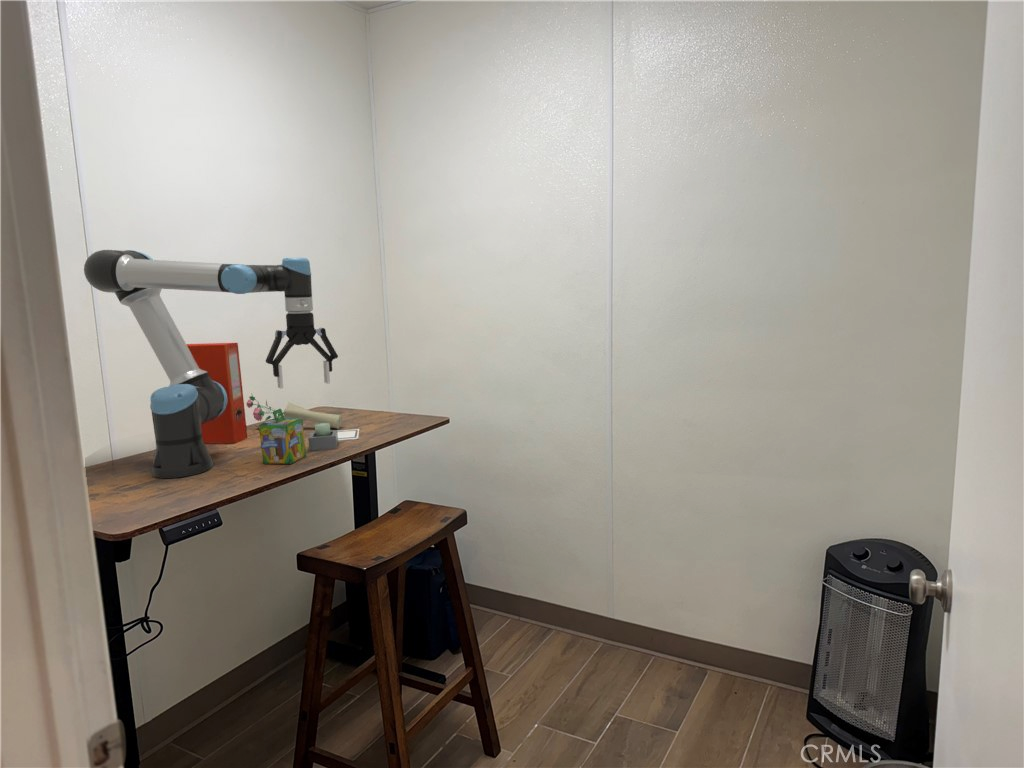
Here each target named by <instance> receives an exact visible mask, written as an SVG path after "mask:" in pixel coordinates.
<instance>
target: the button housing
mask: <svg viewBox="0 0 1024 768" xmlns="http://www.w3.org/2000/svg"><path fill="white" fill-rule="evenodd" d="M337 431H338V429H336V430H330V434H331V436H319V437H316V433H315V431H311V432H310V434H309V436H308V439H307V440H308V448H309V449H308V450H309V452H314V451H316V452H318V451H326V450H327V451H328V450H337V448H338V445H339V441H338V432H337Z"/></svg>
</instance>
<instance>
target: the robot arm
mask: <svg viewBox="0 0 1024 768" xmlns="http://www.w3.org/2000/svg"><path fill="white" fill-rule="evenodd" d="M281 261H282V262H281V264H274V265H273V264H271V265H270V264H239V263H238V264H237V263H235V264H234V263H220V262H219V263H217V262H202V261H201V262H200V261H199V262H198V261H182V260H179V261H177V260H166V259H165V260H164V259H163V260H161V259H153V258H152V257H151V256H149V255H148V254H146V253H144V252H140V251H137V250H132V249H131V250H130V249H128V250H119V249H118V250H116V249H114V250H113V249H101V250H98V251H95V252H92V253H91V254H90V255H89V256H88V257H87V259H86V260H85V262H84V264H83V266H84V267H83V273H84V276H85V278H86V280H87V282H88V283H89V284H90V285H91V286H92V287H93V288H94V289H96V290H98V291H100V292H104V293H112V294H115V296H116V298H117V299H118V301H119V302H120V303H119V304H120V305H123V306H125V307H128V308H129V310H130V311H131V312H132V313H131V314H133V316H134V318H135V319H136V322H137V324H138V325H139V327H140V329H141V330H142V332H143V334H144V336H145V338H146V339H147V342H148V343H149V345H150V347H151V349H152V350H153V352H154V354H155V356H156V358H157V360H158V361H159V364H160V365H161V367H162V368H163V371H164V372H165V374H166V376H167V378H168V380H169V381H170V383H169V385H168V386H163V387H160V388H158V389H156V390H154V391H153V392H152V393H151V395H150V404H149V405H150V410H151V417H152V423H153V431H154V438H155V440H154V441H155V451H154V457H153V460H152V465H151V472H152V476H153V477H155V478H158V479H175V478H177V479H178V478H183V477H189V476H194V475H197V474H201V473H204V472H207V471H209V470H210V469H213V464H214V463H213V460H212V459H213V458H212V456H211V454H210V453H209V450H208V448H207V446H206V443H204V442H203V438H202V430H201V425H202V424H204V423H207V422H210V421H212V420H214V419H216V418H217V417H218V416H220V415H221V414H222V413H223V412H224V410H225V408H226V406H227V394H226V391H225V389H224V388H223V387H222V385H220V384H219V383H217V382H215V381H212V379H211V377H210V375H209V374H208V372H207V371H204V370H201V369H200V368H199V367H198V365H197V363H196V361H195V359H194V358H193V356H192V354H191V352H190V350H189V348H188V347H187V345H186V344H187V342H186V341H185V340H184V338H183V335H182V334H181V332H180V331H179V328H178V327H177V325H176V323H175V321H174V319H173V317H172V316H171V314H170V312H169V310H168V308H167V307H166V305H165V303H164V301H163V299H162V297H161V292H162V290H179V291H180V290H181V291H199V292H200V291H201V292H219V293H232V294H235V295H245V294H250V293H251V294H252V293H267V292H268V293H271V292H272V293H273V292H275V293H276V292H279V293H280V292H284V303H285V304H284V305H285V306H284V307H285V308H284V309H285V311H286V312H287V313H286V314H285V321H286V330H279V329H276V330H275V334H274V336H275V337H274V340H273V343H272V344H271V346H270V349H269V352H268V354H267V356H266V359H265V363H266V364H268V365H271V366H272V371H273V372H272V373H273V376H274V377H275V378H276V379H277V380H276V381H277V388H278V389H284V382H283V381H284V380H283V368H282V367H283V366H282V365H280V364H281V362H282V360H283V359H284V358H285V357H286V356H287V354H288V352H289V351H291V348H293V346H301V345H306V346H307V345H311V346H312V347H313V348H314V349H315V350H316V351H317V352H318V353H319V354H320V355H321V356H322V358H323V359H324V360H323V361H322V365H323V366H322V367H323V377H324V378H323V380H324V383H325V384H331V379H330V373H331V372H332V371H333V360H335V359H338V357H339V355H338V354H337V351H336V349H335V348H334V346H333V345H332V343H331V341H330V339H329V337H328V336H327V332H326V328H324V327H319V328H317V329H316V328H315V320H314V318H315V317H314V313H313V310H314V306H313V305H314V304H313V289H312V288H313V287H312V286H313V285H312V271H311V263H310V260H309V259H308V258H307V257H283V258H282V259H281ZM316 334H317V335H318V336H319V337H320V339H321V341H322V342H323V345H324V346H325V348H326V349H327V351H328V352H327V351H326V350H325V349H324V348H323V347H322V346H321V344H319V343H318V341H317V340H316V339H315V338H314V337H315V336H316ZM285 336H286V337H287V338H288V339H287V341H286V342H285V344H284V346H283V347H282V348H281V350H280V351H279V353H278V354H277V352H278V350H279V348H280V347H279V346H280V345H281V342H282V339H284V338H285Z"/></svg>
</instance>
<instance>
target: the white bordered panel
mask: <svg viewBox="0 0 1024 768" xmlns="http://www.w3.org/2000/svg"><path fill="white" fill-rule="evenodd" d="M337 432H338V442H341V441H343V442H345V441H355V440H359V437H360V436H359V435H360V428H355V429H353V428H352V429H343V430H337Z"/></svg>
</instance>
